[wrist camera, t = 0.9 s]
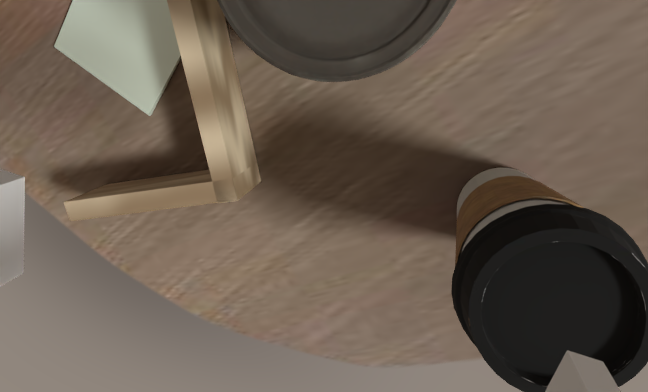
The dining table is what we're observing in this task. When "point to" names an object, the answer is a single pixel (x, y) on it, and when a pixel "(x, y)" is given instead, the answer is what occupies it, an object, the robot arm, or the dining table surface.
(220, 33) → the wooden l-shaped bracket
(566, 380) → the robot arm
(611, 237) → the coffee cup
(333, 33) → the coffee can
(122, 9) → the pad
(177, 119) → the dining table surface
